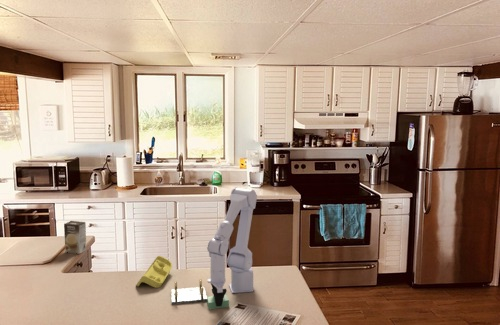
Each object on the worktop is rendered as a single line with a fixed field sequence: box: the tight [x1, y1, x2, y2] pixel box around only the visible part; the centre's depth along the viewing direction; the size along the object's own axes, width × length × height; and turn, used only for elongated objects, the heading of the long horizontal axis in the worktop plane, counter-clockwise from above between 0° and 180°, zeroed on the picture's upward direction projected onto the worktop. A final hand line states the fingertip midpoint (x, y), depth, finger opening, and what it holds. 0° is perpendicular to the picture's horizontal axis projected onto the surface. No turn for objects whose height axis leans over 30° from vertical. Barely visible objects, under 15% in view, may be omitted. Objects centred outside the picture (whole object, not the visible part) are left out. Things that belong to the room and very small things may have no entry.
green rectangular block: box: [206, 293, 230, 310], centre depth 149 cm, size 8×5×3 cm, turn 106°
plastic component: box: [135, 255, 173, 289], centre depth 172 cm, size 20×7×10 cm
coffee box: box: [63, 220, 87, 255], centre depth 203 cm, size 9×6×16 cm
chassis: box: [171, 279, 208, 305], centre depth 155 cm, size 14×11×5 cm
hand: (217, 301), depth 149 cm, fingers open, 6 cm apart
